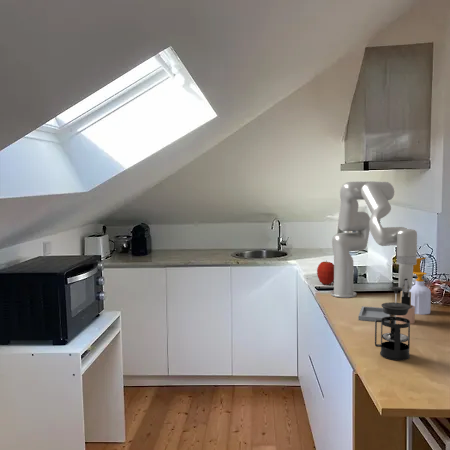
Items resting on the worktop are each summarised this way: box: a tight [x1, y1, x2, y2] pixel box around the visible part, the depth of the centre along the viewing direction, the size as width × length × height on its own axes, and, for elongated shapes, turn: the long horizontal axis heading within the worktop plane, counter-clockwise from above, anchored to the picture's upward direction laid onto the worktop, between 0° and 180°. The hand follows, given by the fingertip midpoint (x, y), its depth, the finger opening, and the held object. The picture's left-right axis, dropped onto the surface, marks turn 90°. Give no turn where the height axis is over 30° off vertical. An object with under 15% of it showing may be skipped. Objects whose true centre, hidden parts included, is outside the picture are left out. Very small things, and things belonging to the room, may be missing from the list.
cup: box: [396, 305, 416, 325], centre depth 196 cm, size 7×7×7 cm
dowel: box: [399, 290, 411, 308], centre depth 196 cm, size 4×4×12 cm
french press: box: [374, 286, 411, 362], centre depth 160 cm, size 12×9×23 cm
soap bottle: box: [410, 257, 432, 316], centre depth 209 cm, size 9×9×25 cm
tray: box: [357, 305, 391, 323], centre depth 204 cm, size 16×12×2 cm
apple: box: [316, 260, 334, 285], centre depth 270 cm, size 10×10×14 cm
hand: (405, 304), depth 196 cm, fingers closed on dowel, 4 cm apart
